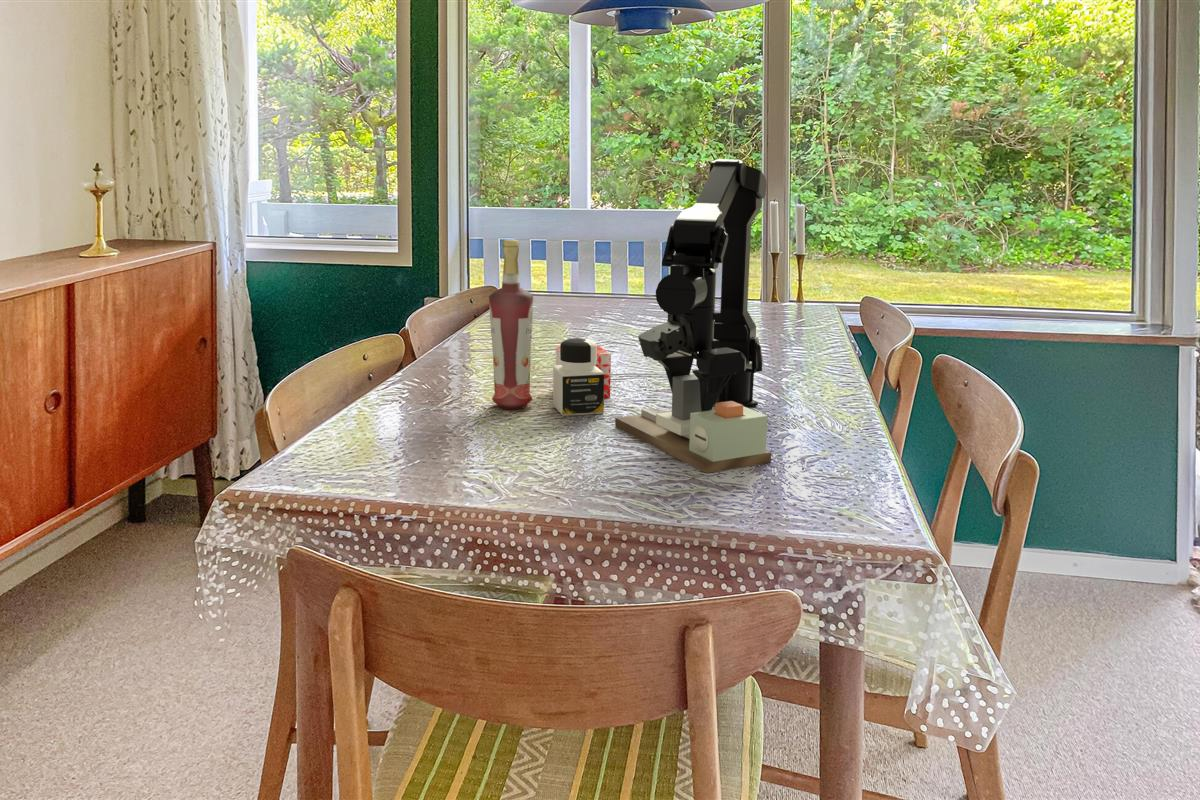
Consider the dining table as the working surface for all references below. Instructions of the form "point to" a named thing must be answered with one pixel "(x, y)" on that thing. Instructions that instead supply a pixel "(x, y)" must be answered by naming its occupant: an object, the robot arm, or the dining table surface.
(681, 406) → the carriage
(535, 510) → the dining table surface
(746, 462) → the rail track
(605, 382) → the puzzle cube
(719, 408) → the button
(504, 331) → the liquor
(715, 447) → the cabinet
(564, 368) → the medicine bottle
